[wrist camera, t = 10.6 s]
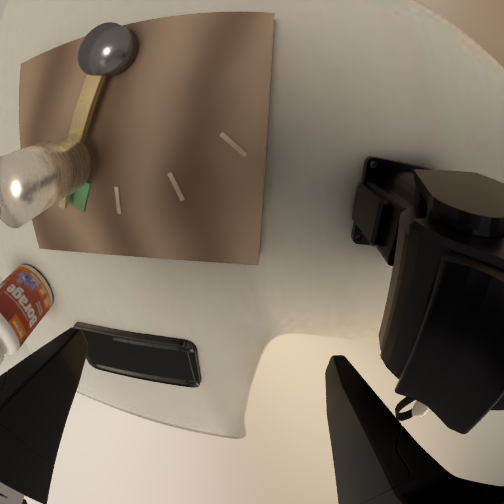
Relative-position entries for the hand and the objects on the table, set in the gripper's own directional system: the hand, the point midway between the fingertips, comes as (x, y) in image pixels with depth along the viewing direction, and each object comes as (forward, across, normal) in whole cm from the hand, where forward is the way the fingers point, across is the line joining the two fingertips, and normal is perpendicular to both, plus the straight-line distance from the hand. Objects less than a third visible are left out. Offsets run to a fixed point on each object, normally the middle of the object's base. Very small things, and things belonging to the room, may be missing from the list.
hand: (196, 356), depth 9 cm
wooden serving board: (+12, +8, -6) cm, 16 cm away
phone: (+13, +11, +17) cm, 24 cm away
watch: (+13, -27, +26) cm, 40 cm away
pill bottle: (+13, +23, +9) cm, 28 cm away
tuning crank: (+11, +10, -8) cm, 16 cm away
